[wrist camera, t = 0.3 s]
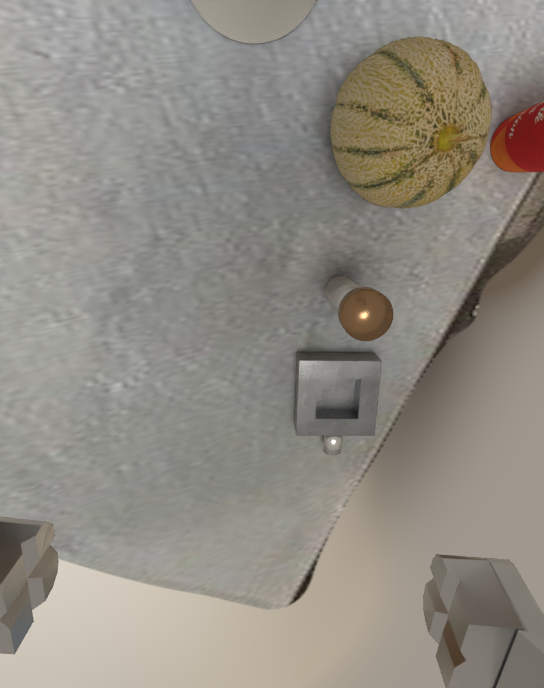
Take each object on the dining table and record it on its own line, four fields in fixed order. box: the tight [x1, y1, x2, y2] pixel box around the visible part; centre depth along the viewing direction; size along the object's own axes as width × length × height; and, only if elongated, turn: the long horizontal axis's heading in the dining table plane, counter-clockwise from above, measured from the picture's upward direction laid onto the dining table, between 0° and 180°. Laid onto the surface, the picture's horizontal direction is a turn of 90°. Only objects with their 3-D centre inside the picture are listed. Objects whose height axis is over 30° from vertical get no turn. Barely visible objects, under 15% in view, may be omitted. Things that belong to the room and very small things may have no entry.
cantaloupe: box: [330, 37, 492, 208], centre depth 43 cm, size 15×15×15 cm
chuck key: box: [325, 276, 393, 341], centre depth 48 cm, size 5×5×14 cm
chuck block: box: [294, 352, 382, 455], centre depth 57 cm, size 13×10×4 cm
